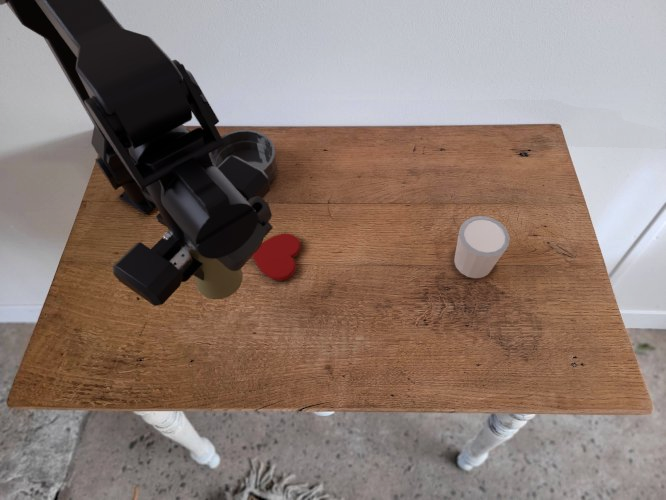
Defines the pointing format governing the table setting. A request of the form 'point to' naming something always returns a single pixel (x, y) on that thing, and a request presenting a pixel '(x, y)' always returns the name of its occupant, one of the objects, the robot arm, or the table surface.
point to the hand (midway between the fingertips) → (213, 264)
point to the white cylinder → (480, 246)
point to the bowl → (248, 150)
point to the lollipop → (278, 256)
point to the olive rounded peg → (216, 278)
